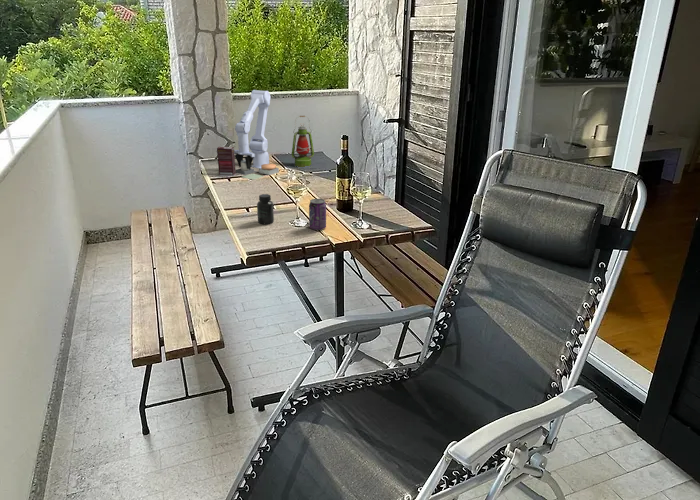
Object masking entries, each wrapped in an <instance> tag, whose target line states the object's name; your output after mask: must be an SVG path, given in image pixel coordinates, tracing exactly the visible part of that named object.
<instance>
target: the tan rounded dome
mask: <svg viewBox="0 0 700 500" xmlns="http://www.w3.org/2000/svg"><path fill="white" fill-rule="evenodd" d="M261 168H262V169H275V168H277V164H275V163H269V164H263V165H261Z"/></svg>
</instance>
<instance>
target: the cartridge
mask: <svg viewBox="0 0 700 500" xmlns="http://www.w3.org/2000/svg"><path fill="white" fill-rule="evenodd" d="M240 168H241V170H242V171H248V170H249V169H247V165H246V160H245V159H243V160H242V161H241V167H240Z"/></svg>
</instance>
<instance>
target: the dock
mask: <svg viewBox="0 0 700 500" xmlns="http://www.w3.org/2000/svg"><path fill="white" fill-rule="evenodd" d="M255 173H259V170H258V171H257V170H255V168H252V167H251V168H250V169H249V170H248V171H242V170H241V167H239V168H238V169H237V168H236V174H238V175H242V176H246V175H249V174H255Z"/></svg>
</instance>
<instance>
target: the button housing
mask: <svg viewBox="0 0 700 500" xmlns="http://www.w3.org/2000/svg"><path fill="white" fill-rule="evenodd" d="M279 172H280V169H279V167H276V168H275V169H262V168H258V173H259V174H260V175H265V176H272V175H275V174H279Z"/></svg>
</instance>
